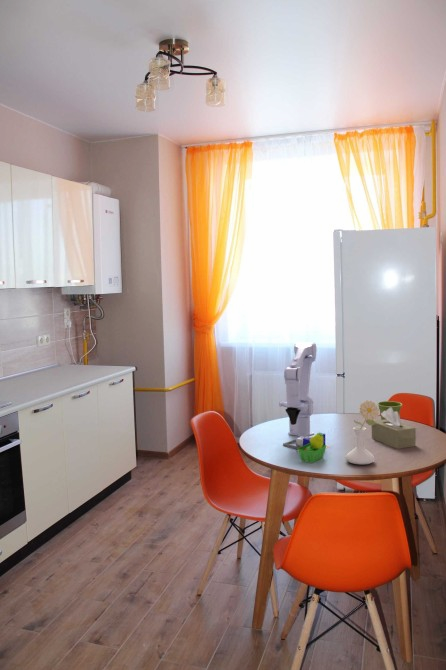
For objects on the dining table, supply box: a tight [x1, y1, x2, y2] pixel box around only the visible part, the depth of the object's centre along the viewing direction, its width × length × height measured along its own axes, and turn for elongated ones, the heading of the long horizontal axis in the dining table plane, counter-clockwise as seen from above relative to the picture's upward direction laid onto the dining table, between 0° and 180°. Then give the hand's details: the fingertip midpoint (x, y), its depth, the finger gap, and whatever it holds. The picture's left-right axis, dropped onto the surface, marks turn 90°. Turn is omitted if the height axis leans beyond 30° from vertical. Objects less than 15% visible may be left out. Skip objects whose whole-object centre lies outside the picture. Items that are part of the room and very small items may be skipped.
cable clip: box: [303, 432, 326, 446], centre depth 235 cm, size 12×4×6 cm, turn 134°
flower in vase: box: [344, 400, 380, 465], centre depth 216 cm, size 13×11×25 cm
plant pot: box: [376, 400, 403, 420], centre depth 270 cm, size 12×12×11 cm
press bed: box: [282, 438, 331, 453], centre depth 240 cm, size 17×15×1 cm
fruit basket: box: [297, 432, 327, 464], centre depth 222 cm, size 11×9×11 cm
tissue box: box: [371, 407, 417, 450], centre depth 243 cm, size 19×10×16 cm, turn 20°
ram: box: [295, 435, 313, 447], centre depth 239 cm, size 5×6×4 cm
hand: (293, 424), depth 245 cm, fingers closed
